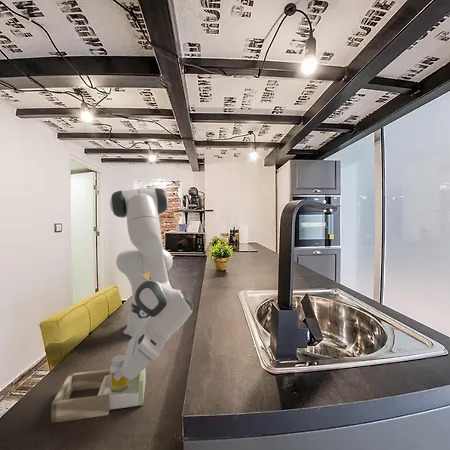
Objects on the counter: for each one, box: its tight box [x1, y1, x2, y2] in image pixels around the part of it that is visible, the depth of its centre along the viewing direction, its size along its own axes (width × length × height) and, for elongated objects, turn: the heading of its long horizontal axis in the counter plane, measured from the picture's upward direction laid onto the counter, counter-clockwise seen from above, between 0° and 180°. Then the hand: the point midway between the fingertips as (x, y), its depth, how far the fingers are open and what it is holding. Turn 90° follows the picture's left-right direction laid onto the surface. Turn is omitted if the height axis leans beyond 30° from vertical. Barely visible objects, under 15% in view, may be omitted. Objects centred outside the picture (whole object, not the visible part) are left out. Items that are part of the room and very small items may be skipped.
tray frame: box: [50, 368, 110, 424], centre depth 78 cm, size 14×14×5 cm
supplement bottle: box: [109, 354, 129, 394], centre depth 80 cm, size 5×5×10 cm
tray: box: [97, 367, 147, 411], centre depth 80 cm, size 11×12×7 cm
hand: (117, 371), depth 80 cm, fingers closed on supplement bottle, 5 cm apart
